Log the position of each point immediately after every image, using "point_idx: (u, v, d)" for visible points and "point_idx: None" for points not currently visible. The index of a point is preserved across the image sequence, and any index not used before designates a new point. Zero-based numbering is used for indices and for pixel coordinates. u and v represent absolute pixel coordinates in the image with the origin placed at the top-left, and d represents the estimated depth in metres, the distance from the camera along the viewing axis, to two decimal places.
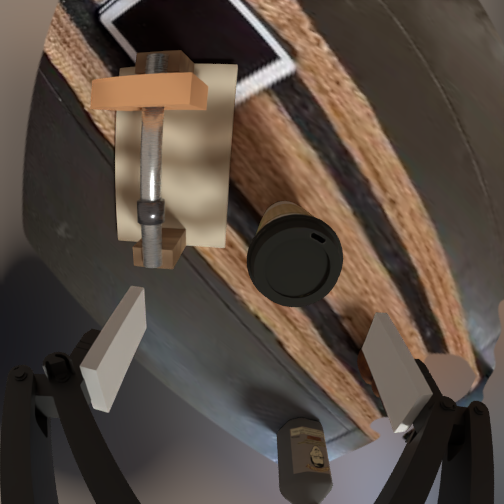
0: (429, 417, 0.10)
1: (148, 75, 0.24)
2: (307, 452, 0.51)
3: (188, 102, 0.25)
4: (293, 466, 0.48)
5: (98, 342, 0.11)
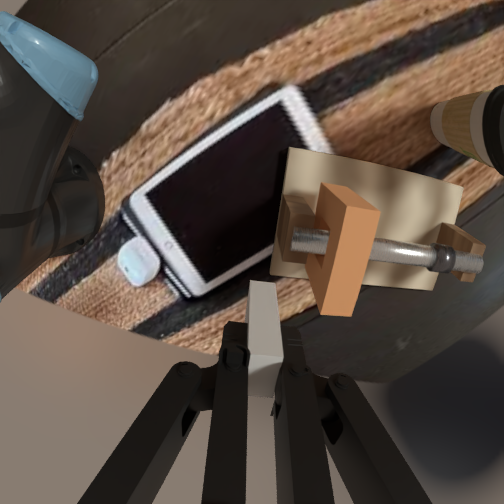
0: (285, 390, 0.11)
1: (338, 253, 0.25)
2: None
3: (378, 212, 0.23)
4: None
5: (253, 331, 0.14)
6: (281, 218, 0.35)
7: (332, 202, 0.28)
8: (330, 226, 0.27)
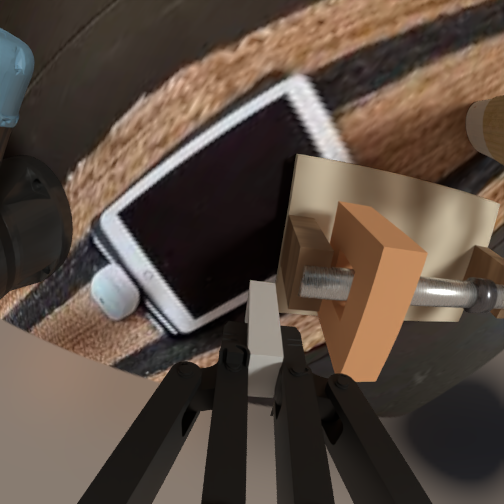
0: (285, 390, 0.11)
1: (366, 311, 0.17)
2: None
3: (425, 254, 0.16)
4: None
5: (252, 331, 0.14)
6: (286, 247, 0.27)
7: (357, 233, 0.20)
8: (354, 267, 0.20)
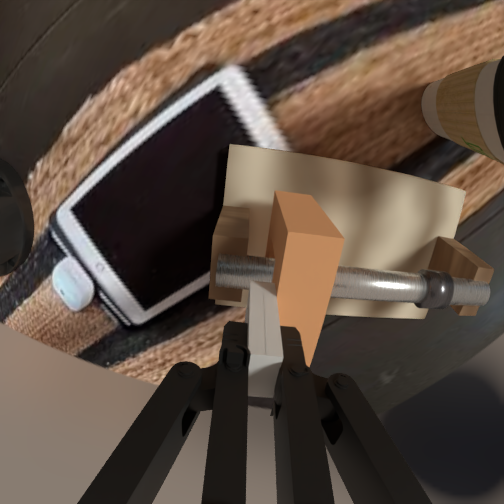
0: (285, 390, 0.11)
1: (278, 301, 0.17)
2: None
3: (341, 240, 0.16)
4: None
5: (253, 331, 0.14)
6: None
7: (279, 221, 0.20)
8: (275, 256, 0.20)
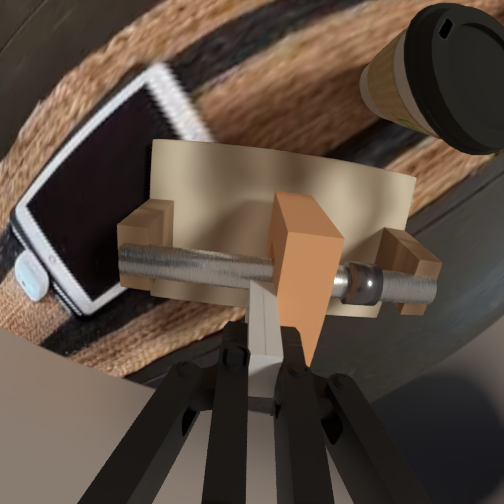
0: (285, 390, 0.11)
1: (278, 301, 0.17)
2: None
3: (341, 240, 0.16)
4: None
5: (253, 331, 0.14)
6: None
7: (279, 221, 0.20)
8: (275, 256, 0.20)
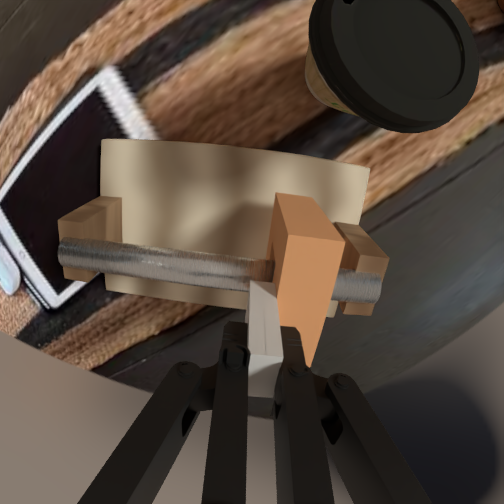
0: (285, 390, 0.11)
1: (278, 304, 0.17)
2: None
3: (342, 243, 0.16)
4: None
5: (253, 331, 0.14)
6: None
7: (279, 223, 0.20)
8: (275, 259, 0.19)
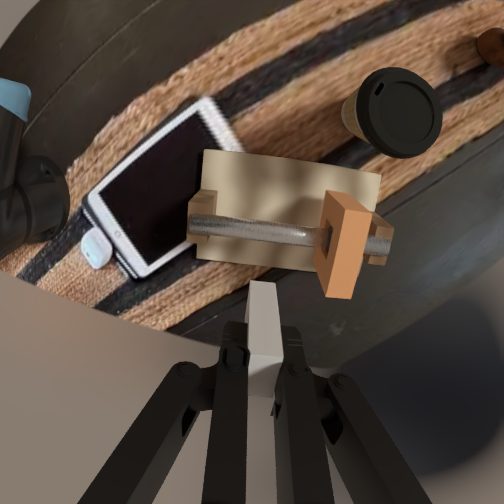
0: (285, 390, 0.11)
1: (338, 247, 0.32)
2: None
3: (370, 214, 0.30)
4: None
5: (252, 331, 0.14)
6: None
7: (334, 206, 0.34)
8: (333, 225, 0.34)
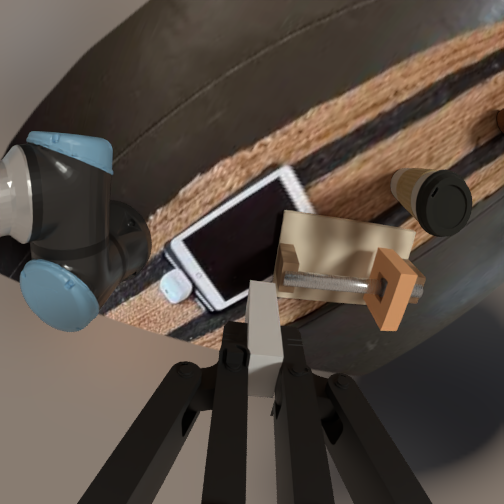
0: (285, 390, 0.11)
1: (393, 298, 0.42)
2: None
3: (416, 275, 0.41)
4: None
5: (252, 331, 0.14)
6: (278, 260, 0.52)
7: (389, 266, 0.45)
8: (387, 280, 0.45)
